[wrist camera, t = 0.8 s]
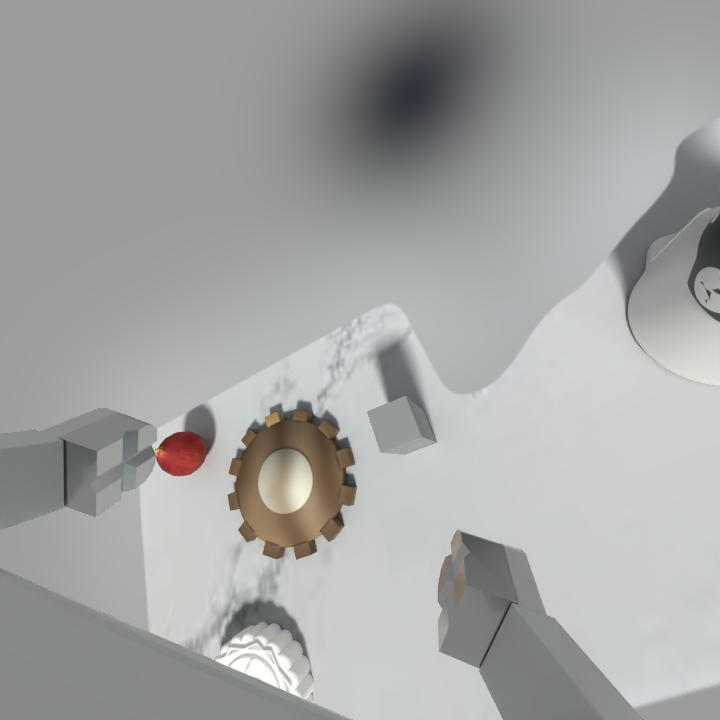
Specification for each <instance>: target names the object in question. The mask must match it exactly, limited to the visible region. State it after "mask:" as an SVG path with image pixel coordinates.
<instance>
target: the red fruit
mask: <svg viewBox="0 0 720 720" xmlns="http://www.w3.org/2000/svg"><path fill="white" fill-rule="evenodd" d="M155 453H156V458H157V462H158V464H159V466H160V467H161V469H162V470H164V471H165V472H167V473H169V474H171V475H173V476H185V475H189V474H192V473H193V472H194V471H196V470H197V469H198V468H199V467H200V466H201V465H202V464H203V462H204V460H205V458H206V453H207V448H206V444H205V441H204V440H203V439H202V438H201V437H200V436H199V435H198V434H195V433H193V432H189V431H187V432H177V433H174V434H173V435H171V436H169V437H167V438H166V439H165V440H164V441H163V442H162V443H161V444H160V446H159V448H157V449H155Z"/></svg>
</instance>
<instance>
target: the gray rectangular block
mask: <svg viewBox="0 0 720 720" xmlns="http://www.w3.org/2000/svg"><path fill="white" fill-rule="evenodd" d="M367 413H368V416H369V419H370V422H371V425H372V428H373V431H374V434H375V437H376V440H377V443H378V446H379V449H380V452H381V453H392V454H404V455H405V454H408V453H410V452H413V451H416V450H418V449H421V448H424V447H426V446H429V445H432V444H434V443H437V441H436V439H435V436H434V434H433V431H432V429H431V427H430V424H429V422H428V419H427V417H426V414H425V412H424V410H423V409H422V408H421V407H419V406H418V405H417V404H415V403H414V402H413V401H412V400H410V399H409V398H408V397H407V396H403V397H401V398H399V399H396V400H394V401H391V402H389V403H387V404H384V405H382V406H379V407H377V408H375V409H372V410H370V411H367Z"/></svg>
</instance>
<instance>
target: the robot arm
mask: <svg viewBox="0 0 720 720" xmlns="http://www.w3.org/2000/svg"><path fill="white" fill-rule="evenodd" d="M628 319H629V324H630V327H631V330H632V333H633V335H634V337H635V339H636V340H637V342H638V343H639V345H640V346H641V347H642V349H643V350H644V351H645V352H646V353H647V354H648V355H649V356H650V357H651V358H652V359H653V360H655V361H656V362H657V363H659V364H660V365H661V366H663V367H665V368H666V369H668V370H670V371H671V372H673V373H675V374H678V375H680V376H682V377H685V378H687V379H690V380H693V381H697V382H701V383H705V384H710V385H717V386H720V206H718V207H715V208H713V209H712V208H706V209H704V210H702V211H701V212H699V213H698V214H697V215H696V216H695V217H694V218H693V219H692V220H691V221H690V222H689V223H688V224H687V225H686V226H685V227H684V228H683V229H682V230H681V231H680V232H678V233H674V234H670V235H667V236H663V237H660V238H658V239H657V240H655V241H654V242H653V243H652V244H651V245H650V247H649V248H648V251H647V257H646V268H645V271H644V273H643V274H642V276H641V277H640V279H639V280H638V282H637V283H636V285H635V287H634V288H633V291H632V293H631V296H630V299H629V303H628ZM156 441H157V429H156V428H155V427H154V426H153V425H151V424H149V423H146V422H143V421H140V420H137V419H135V418H132V417H130V416H127V415H124V414H120V413H118V412H116V411H113V410H110V409H106V408H98V409H96V410H93V411H91V412H89V413H86V414H84V415H81V416H78V417H76V418H73V419H71V420H68V421H66V422H63V423H60V424H58V425H55V426H53V427H51V428H48V429H46V430H43V431H40V432H39V431H36V430H29V431H21V432H12V433H3V434H0V530H2V529H5V528H8V527H11V526H14V525H17V524H19V523H22V522H25V521H28V520H31V519H34V518H36V517H40V516H43V515H45V514H48V513H51V512H54V511H57V510H60V509H63V508H64V506H66V507H69V508H71V509H74V510H77V511H80V512H83V513H86V514H89V515H91V516H94V517H96V516H98V515H100V514H101V513H102V512H103V511H105V510H107V509H108V508H109V507H110V506H112V505H113V504H115V503H116V502H118V501H119V500H120V499H121V495H122V492H125V491H129V490H132V489H136V488H137V487H138V486H140V485H141V484H142V483H143V482H145V480H146V479H147V478H148V476H149V475H150V474H151V472H152V470H153V467H154V465H155V459H156V454H155V452H154V450H153V448H152V445H153V444H154V443H155V442H156ZM451 551H452V554H451V555H449V556H447V557H445V560H444V563H443V565H442V568H441V573H440V577H439V583H438V602H439V604H440V606H441V607H442V612H441V614H440V617H439V620H438V631H439V652H442V653H444V654H447V655H449V656H451V657H454V658H456V659H458V660H461V661H463V662H465V663H468V664H470V665H472V666H475V667H477V668H479V669H480V670H479V672H480V674H481V676H482V678H483V680H484V682H485V684H486V686H487V688H488V690H489V692H490V694H491V696H492V698H493V700H494V702H495V704H496V706H497V708H498V710H499V712H500V714H501V716H502V718H503V720H643V719H642V718H641V717H640V716H639V714H638V713H637V712H636V711H635V710H634V709H633V708H632V706H631V705H630V704H629V703H628V702H627V701H626V700H625V698H624V697H623V696H622V695H621V694H620V693H619V692H618V690H617V689H616V688H615V687H614V686H613V685H612V684H611V682H610V681H609V680H608V679H607V678H606V677H605V676H604V674H603V673H602V672H601V671H600V670H599V669H598V668H597V666H596V665H595V664H594V663H593V662H592V661H591V660H590V658H589V657H588V656H587V655H586V654H585V653H584V652H583V650H582V649H581V648H580V647H579V646H578V645H577V644H576V642H575V641H574V640H573V639H572V638H571V637H570V636H569V634H568V633H567V632H566V631H565V630H564V629H563V628H562V626H561V625H560V624H559V623H558V622H557V621H556V620H555V618H552V617H550V616H547V614H546V611H545V608H544V606H543V603H542V600H541V597H540V594H539V591H538V588H537V585H536V582H535V580H534V577H533V574H532V571H531V568H530V565H529V562H528V559H527V556H526V554H525V553H524V552H523V550H520V549H517V548H514V547H511V546H508V545H504V544H501V543H500V544H499V543H496V542H493V541H490V540H487V539H484V538H481V537H478V536H475V535H472V534H469V533H466V532H463V531H460V530H457V531H456V533H455V534H454V537H453V539H452V542H451ZM0 720H352V719H350V718H347V717H345V716H343V715H340V714H338V713H336V712H333V711H331V710H329V709H326V708H324V707H322V706H319V705H317V704H315V703H312V702H310V701H308V700H305V699H303V698H301V697H298V696H296V695H294V694H291V693H289V692H287V691H284V690H282V689H280V688H277V687H275V686H273V685H270V684H268V683H266V682H263V681H261V680H259V679H256V678H254V677H252V676H249V675H247V674H245V673H242V672H240V671H238V670H235V669H233V668H231V667H228V666H226V665H224V664H222V663H219V662H217V661H215V660H212V659H210V658H208V657H205V656H203V655H201V654H198V653H196V652H194V651H191V650H189V649H187V648H185V647H182V646H180V645H178V644H175V643H173V642H171V641H168V640H166V639H164V638H161V637H159V636H157V635H154V634H152V633H150V632H148V631H145V630H143V629H141V628H138V627H136V626H134V625H131V624H129V623H127V622H124V621H122V620H120V619H117V618H115V617H113V616H111V615H108V614H106V613H104V612H101V611H99V610H97V609H94V608H92V607H90V606H87V605H85V604H83V603H80V602H78V601H76V600H73V599H71V598H69V597H66V596H64V595H62V594H60V593H57V592H55V591H53V590H50V589H48V588H46V587H43V586H41V585H39V584H36V583H34V582H32V581H30V580H27V579H25V578H23V577H20V576H18V575H15V574H13V573H11V572H9V571H6V570H4V569H2V568H0Z"/></svg>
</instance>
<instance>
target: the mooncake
mask: <svg viewBox="0 0 720 720" xmlns="http://www.w3.org/2000/svg"><path fill="white" fill-rule="evenodd" d="M214 660H215V661H217V662H219V663H222V664H224V665H226V666H228V667H231V668H233V669H235V670H238V671H240V672H242V673H245V674H247V675H249V676H252V677H254V678H256V679H259V680H261V681H263V682H266V683H268V684H270V685H273V686H275V687H277V688H280V689H282V690H284V691H287V692H289V693H291V694H294V695H296V696H298V697H301V698H303V699H305V700H308V701H310V702H312V703H314V699H313V696H312V694H311V693H312V691H313V688H314V681H313V678H312V676H311V675H310V674H309V671H310V663H309V660H308V659H307V657H306V656H304V655H303V649H302V646H301V644H300V643H299V642H298V641H296V640H293V637H292V634H291V633H290V632H289V631H288V630H285V629H284V630H281V628H280V626H279V625H278V624H276V623H272V624H270V625H269V626H268V624H267V623H265V622H260V623H258V624H257V625H255V626H254V625H250V626H248V627H247V628H245V629H244V630H242V631H241V632H239V633H238V634H236V635H235V636H234V637H233V638H232V639H231V640H230V641H228V642H227V643H225V644H224V645H223V646H222V648H221V651H220V655H218V656H217V657H216V658H215V659H214Z"/></svg>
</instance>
